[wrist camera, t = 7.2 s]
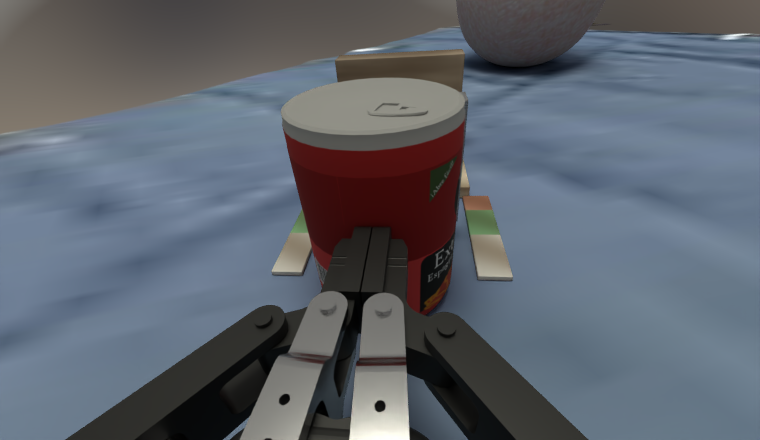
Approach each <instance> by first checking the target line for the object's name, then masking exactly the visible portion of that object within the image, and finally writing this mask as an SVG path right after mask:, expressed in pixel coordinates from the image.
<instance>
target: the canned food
mask: <svg viewBox="0 0 760 440" xmlns="http://www.w3.org/2000/svg"><path fill="white" fill-rule="evenodd" d="M464 106H465V99H464V97H463V95H462V94H461V93H459V92H458V91H457V90H455V89H453V88H451V87H449V86H446V85H443V84H440V83H437V82H432V81H427V80H420V79H411V78H369V79H358V80H350V81H343V82H338V83H333V84H328V85H324V86H321V87H317V88H314V89H311V90H308V91H306V92H303V93H301V94H299V95H297V96H295V97H294V98H292V99H291V100H289V101H288V102H287V103H286V104H285V105H284V106H283V107H282V110H281V115H282V126H283V130H284V134H285V139H286V143H287V149H288V153H289V157H290V161H291V165H292V169H293V173H294V177H295V181H296V185H297V189H298V193H299V197H300V201H301V205H302V209H303V213H304V217H305V222H306V226H307V230H308V234H309V238H310V242H311V246H312V250H313V254H314V258H315V262H316V266H317V270H318V274H319V278H320V282H321V285H322V287H323V284H324V280H325V277H326V274H327V271H328V267H329V265H330V261H331V258H332V254H333V251H334V248H335V246H336V245H337V244H338V243H339V242H340V241H341V239H351V238H352V235H353V231H354V227H391V235H392V239H403V240H404V242H405V244H406V246H407V248H408V287H407V303H408V305H409V306H410V307H411V308H412V309H413V310H414V311H416V312H417V313H420V314H422V315H426V314H427V313H429V312H430V311H431V310H432V309H434V308H435V307H436V305H437V304H438V303H439V302H440V301H441V299H442V297H443V296H444V294H445V292H446V290H447V288H448V286H449V284H450V278H451V270H452V259H453V248H454V238H455V227H456V216H457V206H458V195H459V185H460V174H461V163H462V153H463V142H464V125H465V109H464Z"/></svg>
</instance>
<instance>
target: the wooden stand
mask: <svg viewBox="0 0 760 440" xmlns="http://www.w3.org/2000/svg"><path fill="white" fill-rule="evenodd" d="M464 58H465V54H464V52H463V50H462V49H456V50H436V51H417V52H398V53H378V54H359V55H340V56H339V57H338V58H337V59H336V60H335V65H336V72H337V80H338V82H343V81H350V80H358V79H369V78H411V79H420V80H427V81H432V82H437V83H440V84H443V85H446V86H449V87H451V88H453V89H455V90H457V91H458V92H462V83H463V70H464ZM469 189H470V187H469V182H468V178H467V174H466V169H465V165H464V161H463V165H462V176H461V187H460V198H463V204H464V209H465V214H466V220H467V225H468V230H469V236H470V241H471V246H472V251H473V257H474V262H475V267H476V272H477V278H478V280H505V281H512V279H513V276H512V272H511V269H510V266H509V262H508V259H507V256H506V253H505V249H504V246H503V243H502V240H501V236H500V233H499V230H498V227H497V223H496V220H495V217H494V213H493V210H492V207H491V204H490V200H489V197H488V196H469ZM311 252H312V246H311V242H310V238H309V234H308V230H307V226H306V222H305V217H304V213H303V209H302V211H301V213H300V215H299V217H298V219H297V221H296V223H295V225H294V227H293V229H292V231H291V233H290V235H289V237H288V239H287V241H286V243H285V245H284V247H283V249H282V251H281V253H280V255H279V257H278V259H277V261H276V263H275V265H274V267H273V269H272V271H271V272H272V274H273V275H300V276H302V275H303V273H304V270H305V267H306V265H307V262H308V260H309V257H310V254H311Z"/></svg>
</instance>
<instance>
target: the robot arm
mask: <svg viewBox="0 0 760 440" xmlns="http://www.w3.org/2000/svg"><path fill="white" fill-rule="evenodd" d="M407 287H408V248H407V246H406V244H405V242H404V240H403V239H392V235H391V227H354V231H353V235H352V238H351V239H341V241H340V242H339V243H338V244H337V245H336V246H335V248H334V251H333V254H332V258H331V261H330V265H329V267H328V271H327V274H326V277H325V280H324V284H323V287H322V290H321V293H320V294H319V295H317V296H315V297H314V298H313V299H312V300H311V302H310V303H309V305H308V307H306V308H303V309H300V310H296V311H292V312H288V313H284V312H283V310H282V309H281V308H280V307H278V306H275V305H266V306H262V307H259V308H257V309H255V310H254V311H252V312H251V313H249V314H248V315H246V316H245V317H244V318H242V319H241V320H239V321H238V322H236V323H235V324H233V325H232V326H230V327H229V328H227V329H226V330H225V331H223V332H222V333H220V334H219V335H217V336H216V337H214V338H213V339H211V340H210V341H208V342H207V343H206V344H204V345H203V346H201V347H200V348H198V349H197V350H195V351H194V352H192V353H191V354H190V355H188V356H187V357H185V358H184V359H182V360H181V361H179V362H178V363H176V364H175V365H173V366H172V367H171V368H169V369H168V370H166V371H165V372H163V373H162V374H160V375H159V376H157V377H156V378H155V379H153V380H152V381H150V382H149V383H147V384H146V385H144V386H143V387H141V388H140V389H138V390H137V391H136V392H134V393H133V394H131V395H130V396H128V397H127V398H125V399H124V400H122V401H121V402H120V403H118V404H117V405H115V406H114V407H112V408H111V409H109V410H108V411H106V412H105V413H103V414H102V415H101V416H99V417H98V418H96V419H95V420H93V421H92V422H90V423H89V424H87V425H86V426H85V427H83V428H82V429H80V430H79V431H77V432H76V433H74V434H73V435H71V436H70V437H68V438H67V439H66V440H223V439H224V438H225V437H226V436H228V435H229V434H230V433H231V432H232V431H233V430H234V429H236V428H237V427H238V426H239V425H240V424H241V423H242V422H244V421H245V420H246V419H247V418H248V417H249V416H250V415H251V416H250V418H249V420H248V422H247V425H246V427H245V428H244V429H242V430H241V431H240V432H238V433H237V434H236V435H235V436H233V437H232V438H231V439H230V440H429V439H428V438H426V437H425V436H424V435H422V434H421V433H420V432H418V431H416V430H414V429H412V428H410V427H409V414H408V392H407V373H408V374H411V375H413V376H415V377H418V378H420V379H423V380H424V382H425V384H426V385H427V387H428V388H429V390H430V391H431V392H432V393H433V395H434V396H435V397H436V399H437V400H438V401H439V402H440V404H441V405H442V406H443V408H444V409H445V410H446V412H447V413H448V414H449V415H450V417H451V418H452V419H453V421H454V422H455V423H456V424H457V426H458V427H459V428H460V430H461V431H462V432H463V433H464V435H465V436H466V437H467V439H468V440H588V439H587V438H586V437H585V436H584V435H583V434H582V433H581V432H580V431H579V430H578V429H577V428H576V427H574V426H573V425H572V424H571V423H570V422H569V421H568V420H567V419H566V418H565V417H564V416H563V415H562V414H561V413H560V412H559V411H558V410H557V409H556V408H555V407H554V406H553V405H552V404H550V403H549V402H548V401H547V400H546V399H545V398H544V397H543V396H542V395H541V394H540V393H539V392H538V391H537V390H536V389H535V388H534V387H533V386H532V385H531V384H530V383H529V382H528V381H526V380H525V379H524V378H523V377H522V376H521V375H520V374H519V373H518V372H517V371H516V370H515V369H514V368H513V367H512V366H511V365H510V364H509V363H508V362H507V361H506V360H505V359H504V358H502V357H501V356H500V355H499V354H498V353H497V352H496V351H495V350H494V349H493V348H492V347H491V346H490V345H489V344H488V343H487V342H486V341H485V340H484V339H483V338H482V337H481V336H480V335H478V334H477V333H476V332H475V331H474V330H473V329H472V328H471V327H470V326H469V325H468V324H467V323H466V322H465V321H464V320H463V319H462V318H460V317H459V316H457V315H455V314H453V313H449V312H440V313H436V314H434V315H432V316H430V317H428V316H425V315H422V314H420V313H417V312H416V311H414V310H413V309H412V308H411V307H410V306H409V305H408V303H407ZM358 333H360V334H361V343H360V356H359V361H357V363H356V369H355V380H354V392H353V403H352V415H351V417H348V418H343V404H344V399H345V395H346V391H347V387H348V383H349V379H350V375H351V371H352V367H353V363H354V359H355V355H356V342H357V336H358Z"/></svg>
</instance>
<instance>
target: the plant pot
mask: <svg viewBox="0 0 760 440" xmlns="http://www.w3.org/2000/svg"><path fill="white" fill-rule="evenodd" d="M604 1H605V0H456V2H457V13H458V18H459V23H460V27H461V30H462V33H463V36H464V38H465V40H466V41H467V43H468V44H469V46H470V47H471V48H472V49H473V50H474V51H475V52H476V53H477V54H478V55H479V56H480V57H482V58H483V59H485V60H487V61H489V62H491V63H494V64H497V65H501V66H508V67H526V66H533V65H538V64H542V63H545V62H547V61H550V60H552V59H554V58H556V57H558V56H560V55H562V54H563V53H565V52H566V51H568V50H569V49H570V48H571V47H573V46H574V45H575V44H576V43H577V42H578V41H579V40H580V39H581V38H582V37H583V35H584V34H585V33H586V32H587V30H588V29H589V27H590V26H591V25H592V23H593V22H594V20H595V18H596V17H597V15H598V13H599V11H600V10H601V8H602V6H603V4H604Z"/></svg>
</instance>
